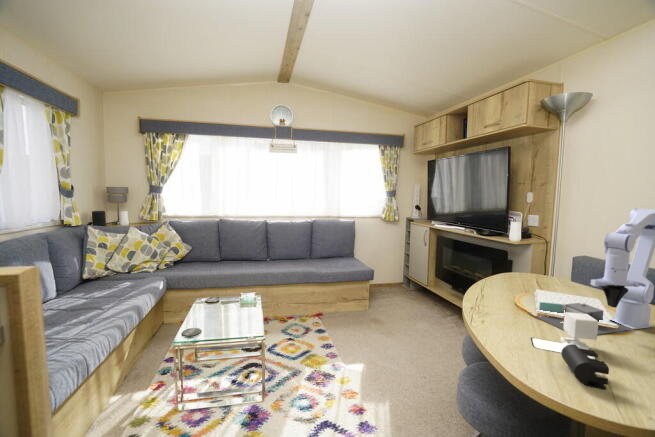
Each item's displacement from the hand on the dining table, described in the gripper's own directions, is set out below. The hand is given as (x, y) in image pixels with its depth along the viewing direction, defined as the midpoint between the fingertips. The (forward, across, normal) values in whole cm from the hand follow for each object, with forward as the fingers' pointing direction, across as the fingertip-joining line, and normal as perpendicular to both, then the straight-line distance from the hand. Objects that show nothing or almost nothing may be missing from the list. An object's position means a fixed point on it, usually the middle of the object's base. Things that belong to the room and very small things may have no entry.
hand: (612, 306), depth 106 cm
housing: (+10, +1, -10) cm, 14 cm away
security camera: (+10, +18, +9) cm, 22 cm away
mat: (+10, +4, -9) cm, 14 cm away
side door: (+9, +10, -14) cm, 20 cm away
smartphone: (+10, +24, +11) cm, 28 cm away
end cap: (+10, +29, +26) cm, 40 cm away
